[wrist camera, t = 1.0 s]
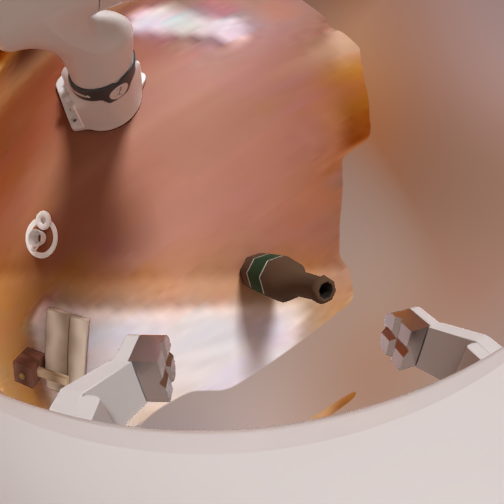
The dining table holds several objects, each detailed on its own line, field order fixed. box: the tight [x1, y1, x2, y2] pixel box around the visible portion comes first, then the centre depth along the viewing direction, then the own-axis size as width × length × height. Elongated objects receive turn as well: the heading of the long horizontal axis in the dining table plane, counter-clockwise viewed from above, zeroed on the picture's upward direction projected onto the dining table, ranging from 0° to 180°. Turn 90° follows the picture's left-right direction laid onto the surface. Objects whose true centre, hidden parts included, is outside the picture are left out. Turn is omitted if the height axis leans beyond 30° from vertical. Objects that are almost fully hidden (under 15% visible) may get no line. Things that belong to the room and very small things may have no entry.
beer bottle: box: [240, 253, 336, 304], centre depth 45 cm, size 8×8×24 cm
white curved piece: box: [26, 211, 58, 258], centre depth 39 cm, size 9×8×4 cm
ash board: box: [45, 307, 90, 391], centre depth 41 cm, size 9×18×2 cm, turn 166°
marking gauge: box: [13, 347, 69, 388], centre depth 36 cm, size 12×4×9 cm, turn 75°
